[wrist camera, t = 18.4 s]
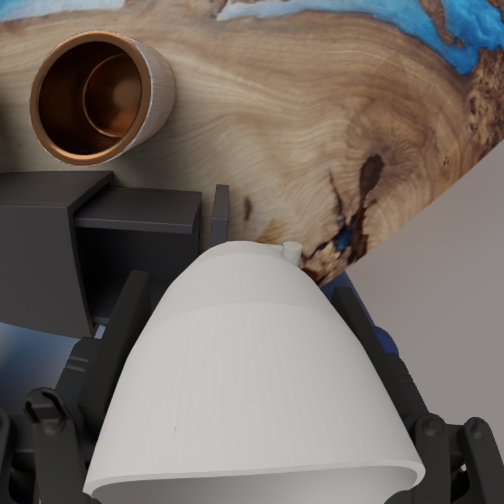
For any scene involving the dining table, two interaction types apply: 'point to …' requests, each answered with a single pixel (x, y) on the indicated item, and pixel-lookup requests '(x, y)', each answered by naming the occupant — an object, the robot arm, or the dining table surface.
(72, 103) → the planter
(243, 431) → the cup
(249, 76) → the dining table surface
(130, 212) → the drawer
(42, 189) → the cabinet
